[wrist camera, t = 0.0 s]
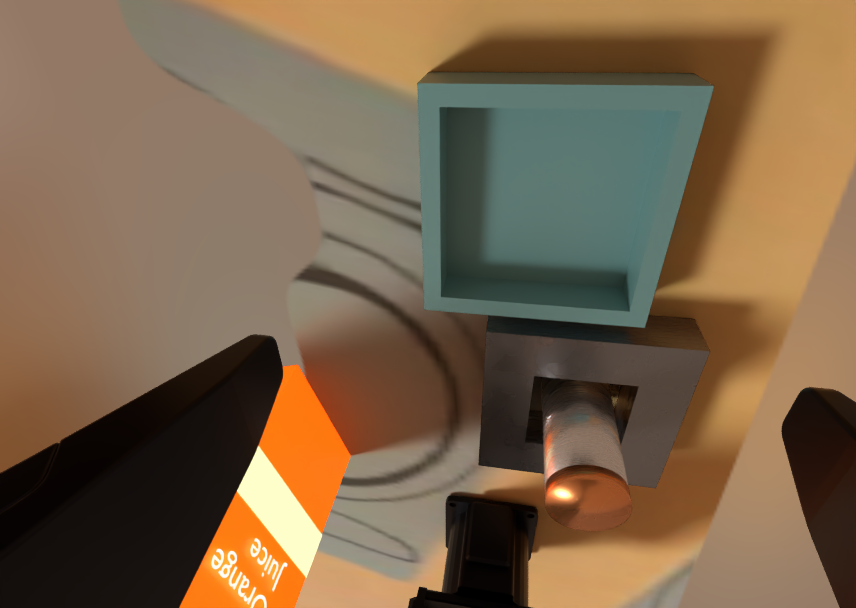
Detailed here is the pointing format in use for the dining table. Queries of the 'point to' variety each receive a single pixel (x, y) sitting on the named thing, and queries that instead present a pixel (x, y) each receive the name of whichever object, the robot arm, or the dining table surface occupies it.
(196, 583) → the orange juice
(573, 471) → the pin
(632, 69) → the dining table surface
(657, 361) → the grey flat square frame
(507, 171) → the tray
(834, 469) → the robot arm
